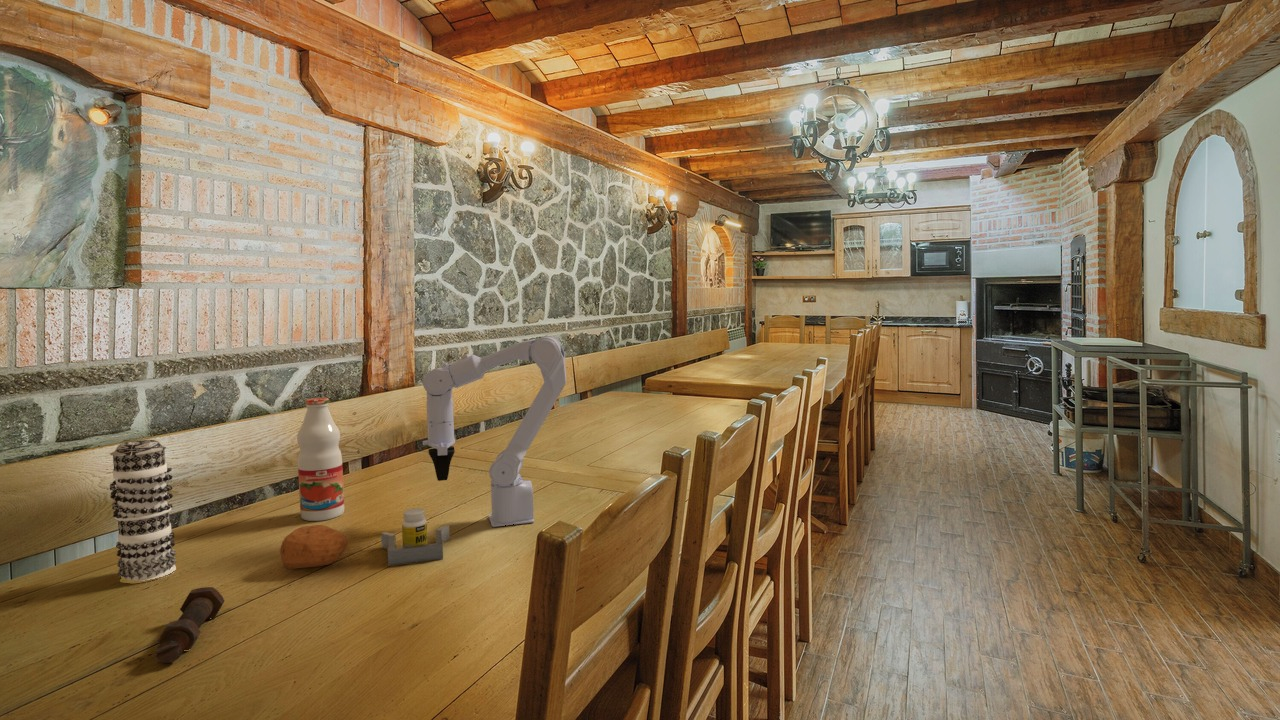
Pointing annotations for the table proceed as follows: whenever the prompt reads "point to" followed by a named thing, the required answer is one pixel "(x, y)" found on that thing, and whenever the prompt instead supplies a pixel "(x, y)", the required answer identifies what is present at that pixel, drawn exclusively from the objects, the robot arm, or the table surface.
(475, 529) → the table surface
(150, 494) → the decorative candle
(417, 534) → the supplement bottle
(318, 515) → the fruit juice
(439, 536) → the steel bracket
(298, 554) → the potato
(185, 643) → the bolt
